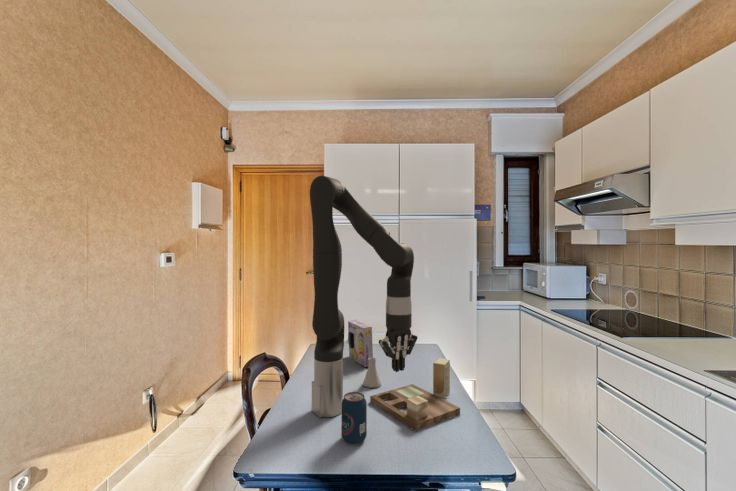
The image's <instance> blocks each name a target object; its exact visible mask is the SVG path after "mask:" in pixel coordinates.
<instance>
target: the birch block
mask: <svg viewBox="0 0 736 491" xmlns="http://www.w3.org/2000/svg"><path fill="white" fill-rule="evenodd" d="M406 410H407V414H408V415H410V416H412V417H413V418H415V419H417V420H418V419H420V418H423V417H426V416H428V401H427V400H425V399H424V398H422V397H420V396H415V397H412V398H409V399H407V408H406Z"/></svg>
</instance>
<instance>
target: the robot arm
mask: <svg viewBox="0 0 736 491" xmlns="http://www.w3.org/2000/svg"><path fill="white" fill-rule="evenodd" d="M309 200H310V202H309V203H310V210H311V221H312V269H313V270H312V272H313V288H314V300H313V313H312V321H311V322H312V325H311V326H312V330H313V333H314V334H315V335H316V342H315V347H314V350H313V351H314V354H313V358H314V360H313V361H314V362H313V363H314V365H313V368H314V369H313V371H314V375H313V376H314V377H313V381H311V412H313V413H314V414H315V415H316V416H317V417H318V418H320V419H321V418H332V417H337V416H338V415H341V414H342V401H343V399H344V384H343V383H344V381H343V380H344V376H343V375H344V348H345V317H344V314H343V312H342V311H341V310H340V309H339V302H338V301H339V300H338V299H339V298H338V297H339V296H338V294H339V287H340V281H341V277H342V268H343V254H342V253H343V252H342V251H343V250H342V249H343V248H342V244H341V240H340V237H339V234H338V233H337V232H338V231H337V230H336V226H335V224H334V217H333V216H334V215H333V209H335V210H337V211H338V212H339V213H341V214H342V215H343V216H344V217H346V219H347V220H348V221H349V223H350V224H351V226H352V228H353V229H354V231H355V232H356V234H358V235H359V236H360V237H361V238H362V239H363V240H364V241H365V242H366V243H367V244H369V246H371V247H372V248H373V250H374V251H375V253H376V254H377V255H378V256H379V258H380V259H381V260H382V261H383V263H385V264H386V265H387V266H389V267H391V270H390V275H389V277H388V278H387V281H386V299H385V327H386V333H385V336H384V337H383V339H379V340H378V344H379V346H380V348H381V349H382V351H383V353H384V355H385V356H386V357H388V358H391V369H392V370H393V372H396V373H399V372H400V371H404V370H405V368H406V357H407V356H408V355H411V353H412V351H413V349H414V347H415V345H416V343H417V340H418V336H417V335H415V334H413V333H412V330H411V328H412V325H413V324H412V322H413V321H412V319H413V318H412V316H413V315H412V314H413V313H412V312H413V311H412V309H413V306H412V295H411V294H412V293H411V292H412V289H411V288H412V287H411V280H412V275H413V269H414V263H415V254H414V250H413V248H412V247H411V246H410V245H409V244H406V243H401V242H398V241H397V240H396V239H394V238H393V237H392V236H391V232H390V231H389V229H388V228H387V227H385V226H384V225H383V224H382V223H381V222H380V221H379V220H378V219H376V218H375V216H373V215H371V213H369V212H368V211H367V210H366V209H365V208H364V207H363V206H362V205H361V204H360V203H359V202H358V201H357V200H356V199H355V198H354V196H353V195H352V193H351V192H349V190H348V189H347V187H346V186H345V185H344V183H342V182H341V181H340V180H338V179H336V178H333V177H330V176H326V175H319V176H317V177H314V179H313V180H312V182H311V184H310V187H309Z"/></svg>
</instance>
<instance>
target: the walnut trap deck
mask: <svg viewBox="0 0 736 491" xmlns="http://www.w3.org/2000/svg"><path fill="white" fill-rule="evenodd" d="M415 396H420V397H422V398H424V399H425V400H427V401H428V416H426V417H423V418H420V419H418V420H417V419H415V418H413V417H412V416H410V415H408V414H407V399H409V398H412V397H415ZM369 398H370V399H369V402H370V403H371V404H373V405H374V406H376V407H378V408H379V409H381V410H382V411H383V412H385V413H387V414H388V415H390V416H391V417H392V418H394V419H396V420H397V421H399V422H400V423H402V424H403V425H405V426H407V428H410V429H411V430H412V431H415V432H417V431H419V430H422V429H424V428H427V427H429V426H433V425H435V424H437V423H441V422H443V421H445V420H448V419H450V418H454V417H456V416H458V415H461V407H459V406H457V404H456V405H455V404H454V403H452V402H449V400H446V399H443V398H440V397H438V396H436V395H433V393H431V392H429V391H428V390H425V389H423V388H421V387H419V386H418V385H415V384H412V383H411V384H408V385H405V386H400V387H397V388H394V389H390V390H388V391H383V392H380V393H377V394H373V395H370V396H369ZM388 399H389V401H385V400H388ZM402 408H405V410H403V411H401V410H400V409H402Z"/></svg>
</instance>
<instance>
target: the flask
mask: <svg viewBox="0 0 736 491" xmlns="http://www.w3.org/2000/svg"><path fill="white" fill-rule="evenodd" d="M368 361H369V366H368V367H367V370H366V374H365V377H364V379H363V382H362V384H363V387H364V388H369V389H371V388H373V389H374V388H376V389H378V388H379V387H381V386H382V382H381V379H380V377H379V373H378V371H377V365H376V361H377V357H373V358H369V359H368Z"/></svg>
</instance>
